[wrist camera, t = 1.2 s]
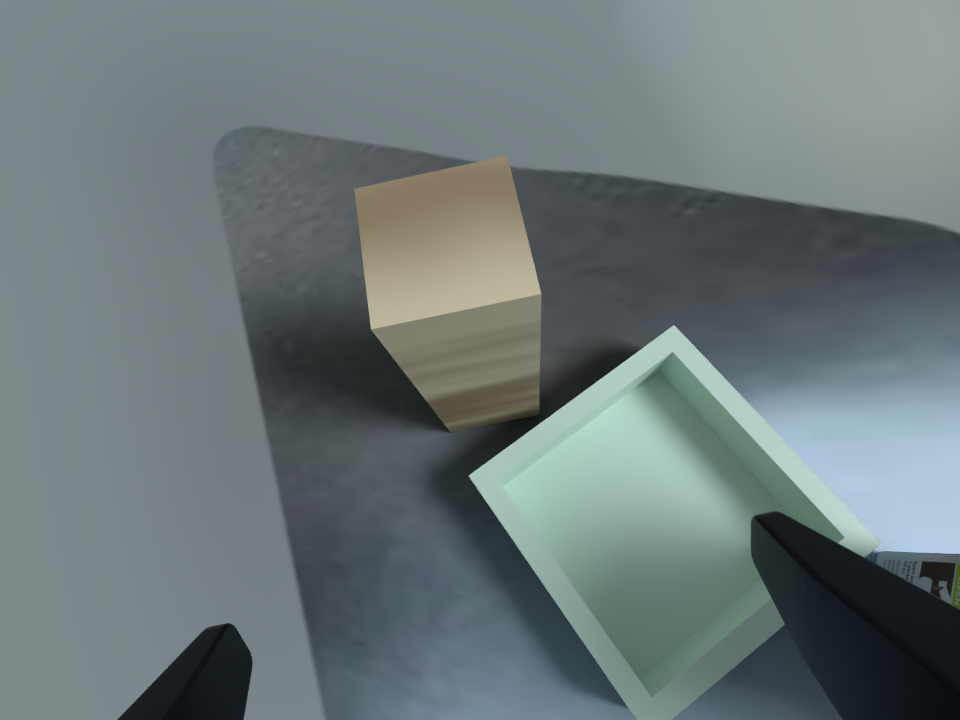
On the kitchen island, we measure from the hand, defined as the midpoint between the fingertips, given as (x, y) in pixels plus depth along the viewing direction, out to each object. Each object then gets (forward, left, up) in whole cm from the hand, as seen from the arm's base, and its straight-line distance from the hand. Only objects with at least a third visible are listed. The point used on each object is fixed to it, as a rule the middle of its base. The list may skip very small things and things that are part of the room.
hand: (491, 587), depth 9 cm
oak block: (+7, -3, -13) cm, 15 cm away
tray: (-1, -5, -13) cm, 14 cm away
